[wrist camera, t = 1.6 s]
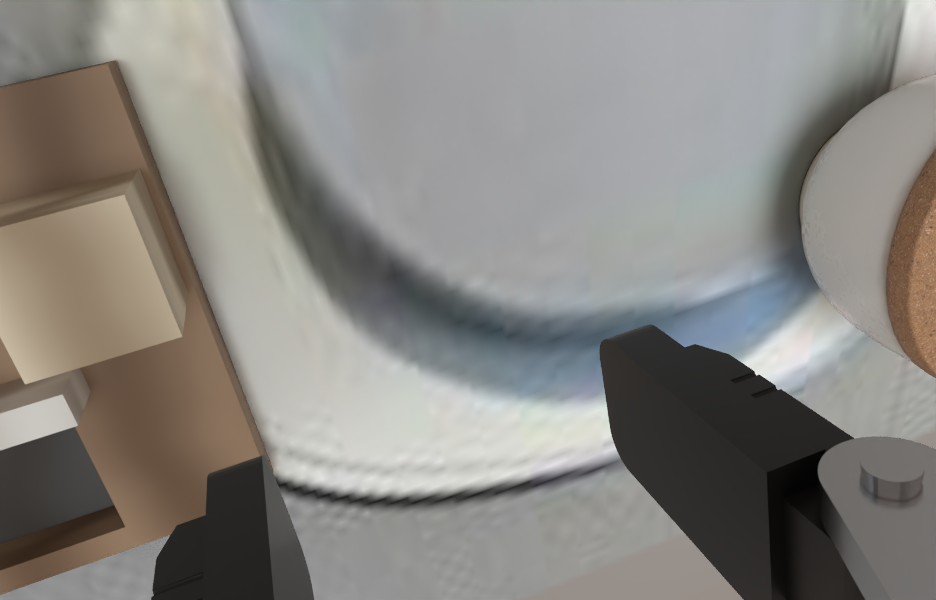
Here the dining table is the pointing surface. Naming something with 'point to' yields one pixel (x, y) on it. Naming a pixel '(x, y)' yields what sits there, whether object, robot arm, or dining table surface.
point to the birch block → (86, 276)
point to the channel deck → (106, 366)
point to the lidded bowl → (879, 221)
